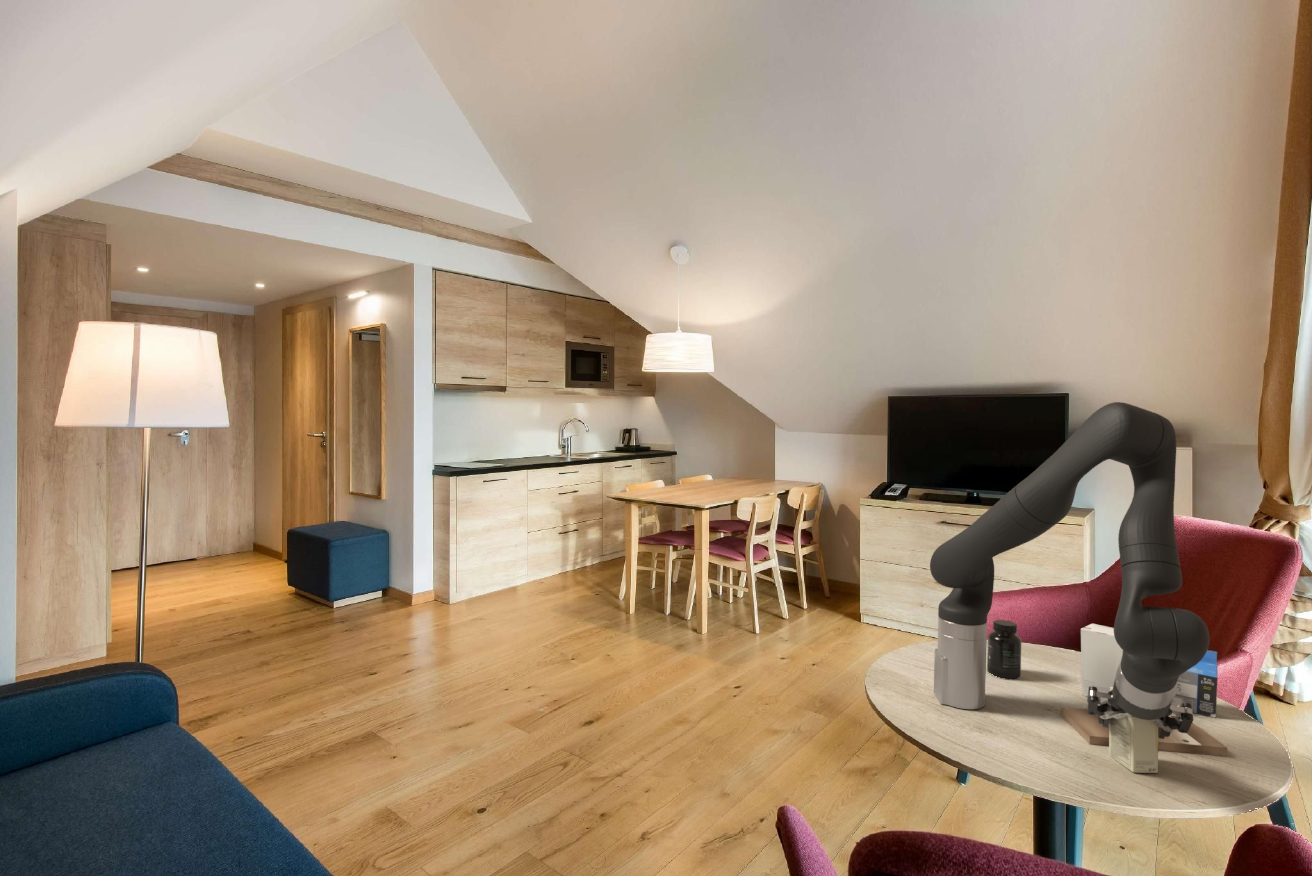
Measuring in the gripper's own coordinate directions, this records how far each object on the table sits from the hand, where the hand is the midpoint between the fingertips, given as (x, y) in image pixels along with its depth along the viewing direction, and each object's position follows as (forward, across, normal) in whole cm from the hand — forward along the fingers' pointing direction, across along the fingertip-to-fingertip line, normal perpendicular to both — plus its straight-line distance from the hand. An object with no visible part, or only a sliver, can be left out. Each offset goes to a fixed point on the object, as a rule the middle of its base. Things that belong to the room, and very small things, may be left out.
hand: (1132, 727), depth 113 cm
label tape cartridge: (+26, -13, -18) cm, 34 cm away
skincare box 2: (+3, 0, +5) cm, 6 cm away
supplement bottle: (+26, +20, -18) cm, 38 cm away
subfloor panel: (+13, -2, -5) cm, 14 cm away
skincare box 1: (+24, +1, -16) cm, 29 cm away
